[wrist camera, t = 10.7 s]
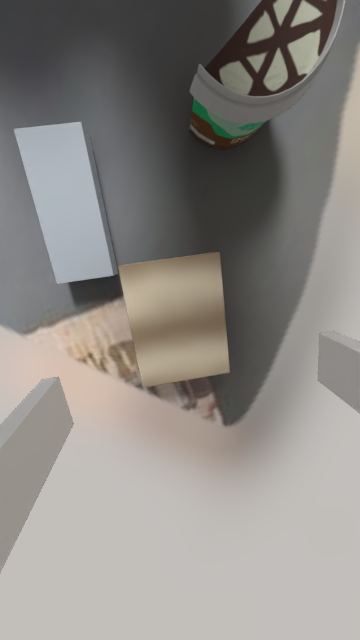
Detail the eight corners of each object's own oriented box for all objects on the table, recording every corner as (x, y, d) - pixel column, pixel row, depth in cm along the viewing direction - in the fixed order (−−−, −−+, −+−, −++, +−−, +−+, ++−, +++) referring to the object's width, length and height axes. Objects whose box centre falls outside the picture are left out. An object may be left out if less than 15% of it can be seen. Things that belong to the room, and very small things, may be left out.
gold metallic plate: (122, 265, 23) (117, 266, 20) (212, 252, 23) (219, 252, 21) (144, 373, 26) (142, 387, 23) (222, 359, 27) (229, 372, 24)
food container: (217, 188, 27) (251, 150, 17) (179, 141, 25) (193, 70, 15) (300, 100, 25) (389, 4, 15) (265, 45, 23) (340, -101, 14)
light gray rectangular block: (30, 144, 24) (13, 128, 21) (90, 137, 24) (80, 121, 21) (67, 280, 28) (57, 283, 25) (118, 273, 28) (113, 275, 25)
